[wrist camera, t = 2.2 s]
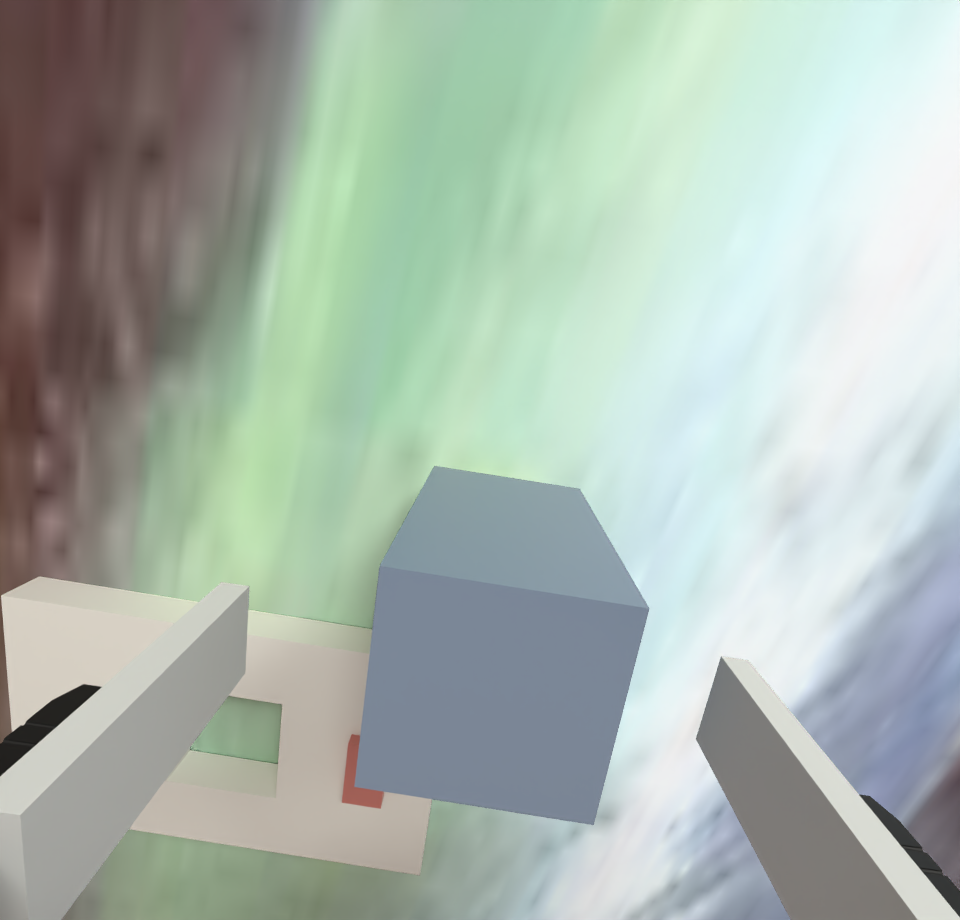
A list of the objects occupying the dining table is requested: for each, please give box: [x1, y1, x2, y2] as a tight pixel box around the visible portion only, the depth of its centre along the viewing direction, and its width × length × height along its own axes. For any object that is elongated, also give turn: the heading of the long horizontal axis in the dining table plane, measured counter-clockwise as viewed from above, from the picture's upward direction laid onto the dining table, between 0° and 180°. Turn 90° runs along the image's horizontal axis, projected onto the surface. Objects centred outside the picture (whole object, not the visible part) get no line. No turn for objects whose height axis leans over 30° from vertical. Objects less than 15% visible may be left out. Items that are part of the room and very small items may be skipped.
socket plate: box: [1, 577, 432, 875], centre depth 25 cm, size 22×13×3 cm, turn 81°
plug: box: [354, 466, 649, 825], centre depth 18 cm, size 6×6×12 cm
